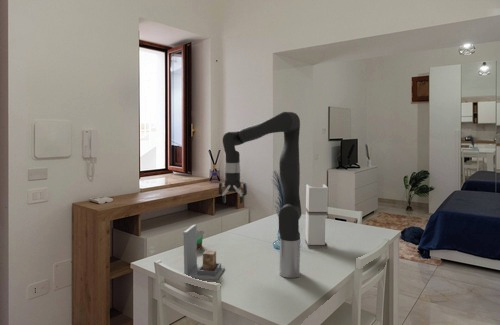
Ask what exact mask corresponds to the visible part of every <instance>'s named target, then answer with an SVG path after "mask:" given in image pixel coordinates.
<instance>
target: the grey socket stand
mask: <svg viewBox="0 0 500 325" xmlns="http://www.w3.org/2000/svg"><path fill="white" fill-rule="evenodd" d="M183 231H184V235H183V266H184V268H183V269H184V271H183V275H184V274H186V275H188V276H191V277H194V278H193V279H200V280H211V281H218V279H219V278H220V276H221V275H222V274H223V272H224V270H225V266H222V263H221V262H220V263H218V262H216V269H215V270H214V271H208V270H203V263H202V264H198V251H197V250H198V249H197V232H196V231H197V224H192V225H191V226H189V227H188V228H187V229H185V230H183Z"/></svg>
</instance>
